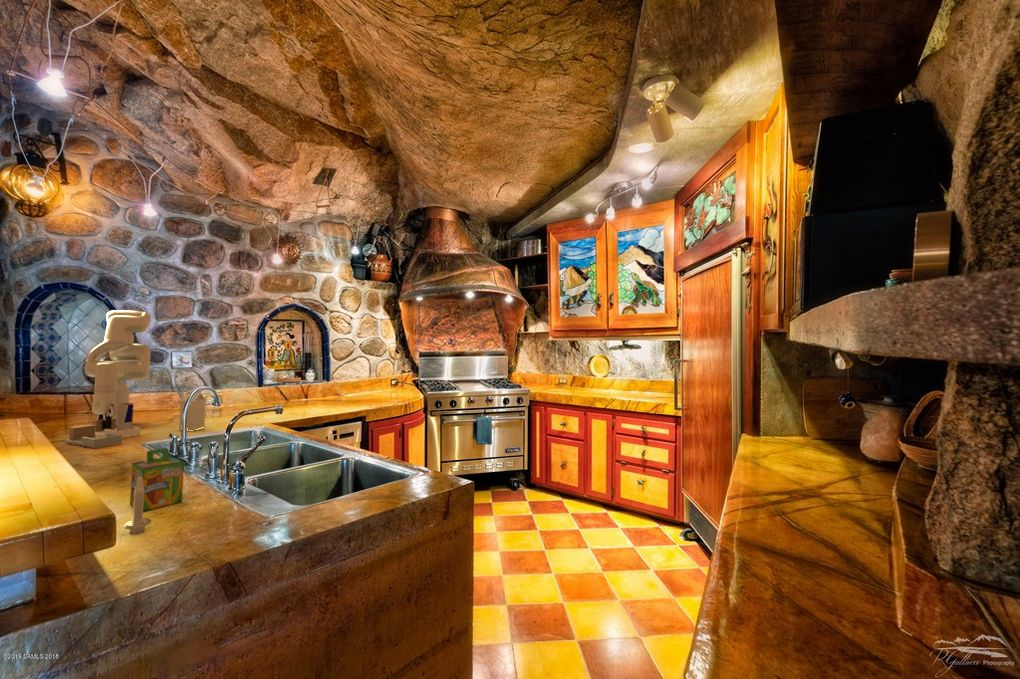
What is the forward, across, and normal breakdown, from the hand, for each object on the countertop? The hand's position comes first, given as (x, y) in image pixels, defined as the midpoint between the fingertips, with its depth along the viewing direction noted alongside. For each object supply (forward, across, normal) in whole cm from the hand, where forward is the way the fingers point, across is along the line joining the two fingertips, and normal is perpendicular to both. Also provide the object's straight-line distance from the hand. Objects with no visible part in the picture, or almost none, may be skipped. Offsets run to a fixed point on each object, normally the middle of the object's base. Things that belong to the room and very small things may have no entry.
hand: (104, 428), depth 189 cm
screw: (+2, +126, -53) cm, 137 cm away
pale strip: (+2, +8, 0) cm, 9 cm away
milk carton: (+2, +26, +22) cm, 34 cm away
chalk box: (+2, +111, -41) cm, 119 cm away
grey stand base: (+2, +19, -12) cm, 23 cm away
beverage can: (+2, +15, 0) cm, 15 cm away
